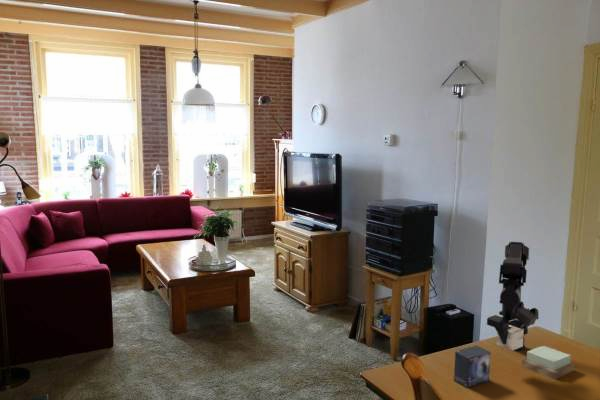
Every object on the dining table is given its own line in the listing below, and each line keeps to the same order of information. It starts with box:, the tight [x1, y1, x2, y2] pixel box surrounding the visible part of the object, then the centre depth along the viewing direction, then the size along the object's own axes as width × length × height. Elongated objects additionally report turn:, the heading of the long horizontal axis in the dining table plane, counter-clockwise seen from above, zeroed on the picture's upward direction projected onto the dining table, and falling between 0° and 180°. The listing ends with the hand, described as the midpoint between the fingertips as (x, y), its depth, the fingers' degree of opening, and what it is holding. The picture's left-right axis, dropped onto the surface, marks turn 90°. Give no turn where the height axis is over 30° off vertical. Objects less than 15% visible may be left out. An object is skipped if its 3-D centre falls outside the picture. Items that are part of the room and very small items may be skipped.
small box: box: [453, 345, 492, 389], centre depth 160 cm, size 11×6×10 cm, turn 117°
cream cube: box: [496, 325, 524, 351], centre depth 166 cm, size 6×6×6 cm
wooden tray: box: [521, 357, 575, 380], centre depth 169 cm, size 12×12×3 cm
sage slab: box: [526, 345, 572, 370], centre depth 170 cm, size 10×10×3 cm
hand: (509, 341), depth 166 cm, fingers closed on cream cube, 6 cm apart
